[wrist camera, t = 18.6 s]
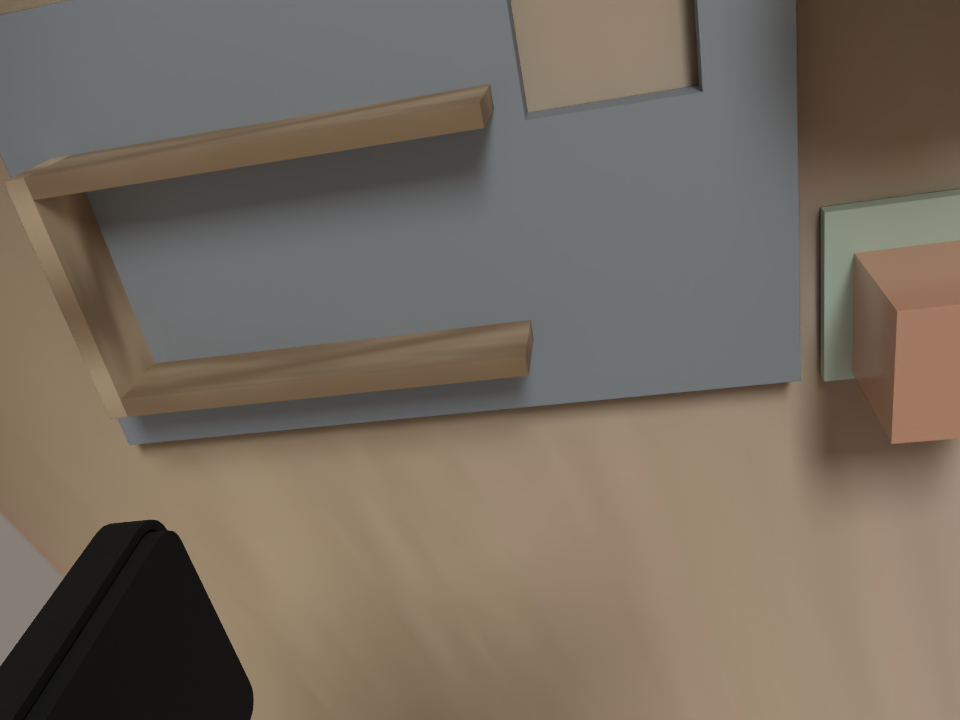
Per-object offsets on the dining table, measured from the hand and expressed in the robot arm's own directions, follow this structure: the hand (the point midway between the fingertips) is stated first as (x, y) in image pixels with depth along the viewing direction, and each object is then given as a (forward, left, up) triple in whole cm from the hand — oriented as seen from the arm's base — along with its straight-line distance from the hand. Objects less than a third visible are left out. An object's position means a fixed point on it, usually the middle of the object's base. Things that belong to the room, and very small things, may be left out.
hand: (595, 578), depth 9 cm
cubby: (+3, -12, -23) cm, 26 cm away
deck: (+2, -8, -24) cm, 25 cm away
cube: (+9, +11, -23) cm, 27 cm away
